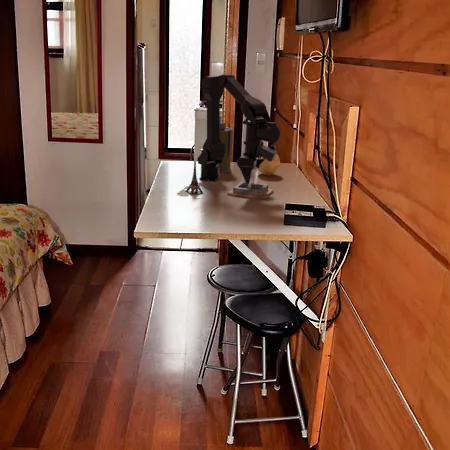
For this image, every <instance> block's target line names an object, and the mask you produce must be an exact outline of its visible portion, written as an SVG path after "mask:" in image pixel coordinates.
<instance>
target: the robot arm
mask: <svg viewBox="0 0 450 450" xmlns="http://www.w3.org/2000/svg"><path fill="white" fill-rule="evenodd" d="M225 90H227V91H228V93H229V95H231V96H232V97H233V98H234V100H236V102H237V103H238V104H239V105H240V111H241V112H242V114H243V116H244V117H245V119H244V120H243V121H242V125H245V140H244V141H243V145H244V152H243V153H242V154H243V155H241V156H239V157H238V158H237V159H236V166H237V167H238V168H239V170H240V172H241V175H242V177H243V180H244V182H246V184H249V182H250V178H251V173H252V170H253V169H254V168H255V167H257V168H258V169H259V168H260V165H261V163H262V162H263V161H265V160H266V159H267V160H268V161H270V162H271V161H272V160H274V158H275V156H276V154H277V155H278V151H277V147H276V145H274V143H277V142H278V141H279V139H280V136H281V132H280V129H279V127H278V126H277V122H272V120H271V116H270V114H269V112H268V109H267V105H266V104H265V103H264V102H263V101H261V100H260V99H258V98H256V97H253V96H252V95H251V94H250V92H248V90H246V89H245V87H244V86H243V85H242V84H241V83H240V82H239V81H238V80H237V79H236V77H235V75H234V74H232V73H225V74H224V73H222V74H220V75H215V76H214V75H213V76H212V75H206V76H204V78H203V79H202V80H201V91H202V95H203V97H204V98H205V100H206V139H205V140H204V143H203V145H202V152H201V153H200V155H199V156H198V157H197V163H198V164H199V165H200V166H201V167H200V177H199V180H201V181H211V182H216V181H217V180H219V179H220V178H221V177H220V173H221V172H220V168H219V163H220V164H221V163H222V161H223V158H224V154H225V143H222V141H221V139H220V122H221V115H220V114H221V107H220V106H221V101H220V100H221V99H222V97H223V95H224V94H225ZM264 142H267V143H271V145H270V146H268V145H267V146H266V145H264V144H265V143H264ZM262 157H263V158H264V159H262Z"/></svg>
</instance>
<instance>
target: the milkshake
mask: <svg viewBox="0 0 450 450" xmlns="http://www.w3.org/2000/svg"><path fill="white" fill-rule="evenodd" d="M259 173H260V171H259V169H258V168H257V167H255V168H254V169H253V170H252V173H251V178H250V182H249V184H247V189H254V190H256V187H257V183H258V179H259Z"/></svg>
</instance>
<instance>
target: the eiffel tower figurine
mask: <svg viewBox="0 0 450 450" xmlns="http://www.w3.org/2000/svg"><path fill="white" fill-rule="evenodd" d="M193 163H194V164H193V173H192V178H191V183H190V184H188V185H189V186H188V185H187V186H185V187H184V188H182V189H181V190H180V191H178V192H177V193H176V195H177V196H178V197H184V198H186V197H189V196H196V195H197V196H198V195H204V194H205V193H204V191H203V190H202V189H201V187H200V186H201V185H199V181H198V178H197V161H196V160H194V161H193ZM191 199H195V200H196V199H198V200H200V198H199V197H198V198H196V197H191Z"/></svg>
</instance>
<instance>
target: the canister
mask: <svg viewBox="0 0 450 450" xmlns="http://www.w3.org/2000/svg"><path fill="white" fill-rule="evenodd" d="M233 132H234V130H233V128H231V127H227V126H226V123H225V122H224V121H223V122H221V121H220V139H221V141H222V143H225V154H224V158H223V161H222V163H221V164H220V163H219V168H220V173H227V172H230V171H231V170H232V169H231V162H232V161H231V159H232V155H233V138H234V137H233V136H234V133H233Z"/></svg>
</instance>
